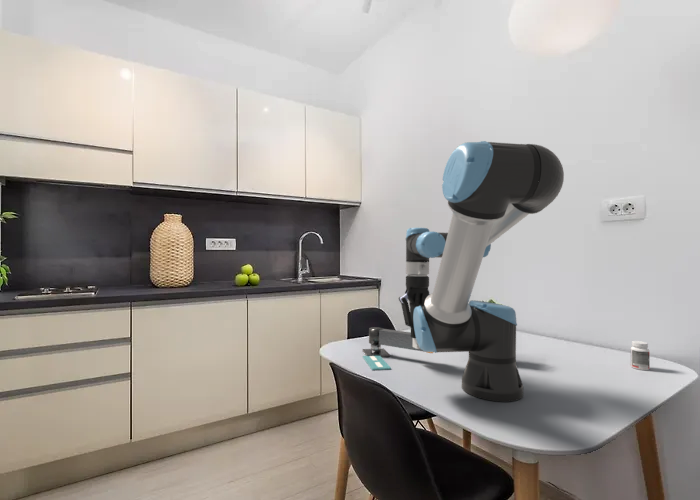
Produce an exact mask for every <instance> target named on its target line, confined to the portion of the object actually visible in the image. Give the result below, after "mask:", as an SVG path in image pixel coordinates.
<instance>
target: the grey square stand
mask: <svg viewBox="0 0 700 500" xmlns="http://www.w3.org/2000/svg"><path fill="white" fill-rule="evenodd" d="M362 352H364V353H365V354H364V353H363V354H364V356H381V357H382V358H388V357H389V358H391V355H390V353H389V352H388V351H387V350H386V349H385V348H382V345H379V344H378V345H376V344H370V348H362Z"/></svg>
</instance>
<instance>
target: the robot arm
mask: <svg viewBox="0 0 700 500" xmlns="http://www.w3.org/2000/svg"><path fill="white" fill-rule="evenodd" d="M445 164H446V165H445V166H444V171H443V175H442V181H443V182H442V185H441V186H442V187H441V188H442V194H443V197H444V198H445V200H447V206H448V208H449V209H450V210H451V211H452V214H451V215H452V216H451V219H450V224H449V227H448V232H437V231H430V229H429V228H428V227H427V228H426V227H409V228H407V230H406V237H405V274H406V276H405V288H406V289H405V291H404V295H402V296H399V297H398V301H399V303H400V304H401V310H402V313H403V314H402V315H403V319H404V323H405V324H404V325H405V326H407V327H410V332H411V337H412V338H413V347H414V348H416V349H421V350H423V351H425V352H424V353H427V352H434V353H435V354H436V353H463V352H464V353H465V352H466V353H467V352H468V360H467V363H466V365H465V368H464V371H463V374H462V375H461V389H462V390H463V391H464V392H465V393H467V394H468V395H471V396H472V397H476V398H479V399H482V400H486V401H494V402H502V403H503V402H507V403H508V402H514V401H518V400H520V399H522V398H523V397H524V384H523V382H522V378H521V376H520V373H519V370H518V367H517V326H518V323H517V313H516V311H515V309H514V308H513V307H511V306H509V305H504V304H500V303H494V302H489V301H484V300H483V301H482V300H470V299H471V296H472V292H473V289H474V287H475V283H476V279H477V276H478V274H479V270H480V268H481V265H482V261H483V259H484V258H485V257H487V256H488V255H489V253H490V251H491V247H492V243H494V242H495V241H496V240H497V239H499V238H500V237H502V236H503V235H504V234H505V233H507V232H508V231H510V230H511V229H512V228H513V227H514V226H516V225H517V224H518V223H520V222H521V221H522V220H523V219H525V218H526V217H527V216H528V215H533V214H534V215H535V214H538V213H540V212H542V211H543V210H544V209H545V208H547V207H548V206H549V205H550V204H552V203H553V202H554V201H555V199H557V197H558V196H559V193H560V192H561V190H562V188H563V184H564V182H565V181H564V176H565V174H564V168H563V164H562V162H561V160H560V158H559V157H558V156H557V155H556V153H555V152H553V151H551V150H550V149H549V148H547V147H545V146H543V145H540V144H535V143H534V144H533V143H510V142H492V141H486V140H482V141H471V142H470V141H468V142H464V143H462V144H459V145H458V146H457V148H454V150H453V151H452V153H451V154H450V155H449V158H448V160H447V162H446V163H445ZM430 258H431V259H434V258H441V259H440V263H439V264H440V265H439V268H438V272H437V276H436V280H435V284H434V288H433V292H432V293H430V290H429V286H430V277H429V274H430ZM423 351H422V352H423Z"/></svg>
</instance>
